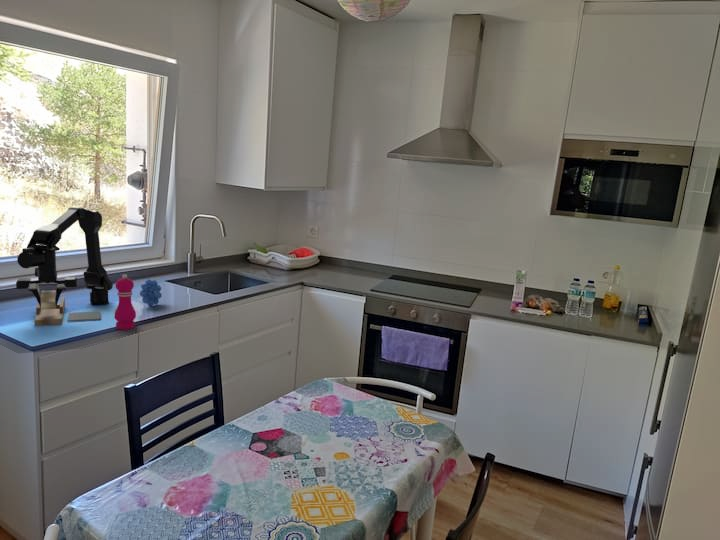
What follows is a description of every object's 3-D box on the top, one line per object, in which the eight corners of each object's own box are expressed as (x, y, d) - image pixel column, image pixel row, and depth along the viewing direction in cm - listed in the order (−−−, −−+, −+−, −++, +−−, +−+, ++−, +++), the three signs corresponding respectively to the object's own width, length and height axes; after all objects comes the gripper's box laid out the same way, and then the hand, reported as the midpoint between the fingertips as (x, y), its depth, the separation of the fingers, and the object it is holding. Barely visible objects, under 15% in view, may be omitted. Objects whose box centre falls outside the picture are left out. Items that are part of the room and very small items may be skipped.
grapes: (148, 310, 213) (148, 282, 211) (136, 308, 216) (135, 280, 214) (168, 305, 224) (168, 278, 222) (156, 302, 226) (156, 275, 224)
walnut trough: (65, 307, 209) (64, 296, 209) (61, 324, 188) (61, 312, 188) (40, 308, 205) (40, 297, 205) (34, 325, 185) (34, 313, 184)
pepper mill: (118, 323, 193) (118, 271, 190) (138, 324, 194) (138, 272, 190) (111, 329, 186) (110, 275, 183) (132, 330, 187) (131, 276, 183)
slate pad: (100, 312, 206) (100, 311, 206) (100, 319, 196) (100, 318, 196) (68, 314, 201) (68, 312, 201) (67, 321, 191) (67, 320, 191)
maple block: (56, 305, 193) (55, 290, 192) (55, 309, 189) (54, 293, 188) (42, 306, 191) (41, 290, 190) (41, 309, 187) (40, 293, 186)
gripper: (76, 259, 198) (78, 299, 201) (19, 260, 189) (21, 301, 192) (75, 265, 188) (77, 306, 191) (14, 265, 180) (17, 309, 182)
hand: (48, 305), depth 189 cm, fingers closed on maple block, 4 cm apart
